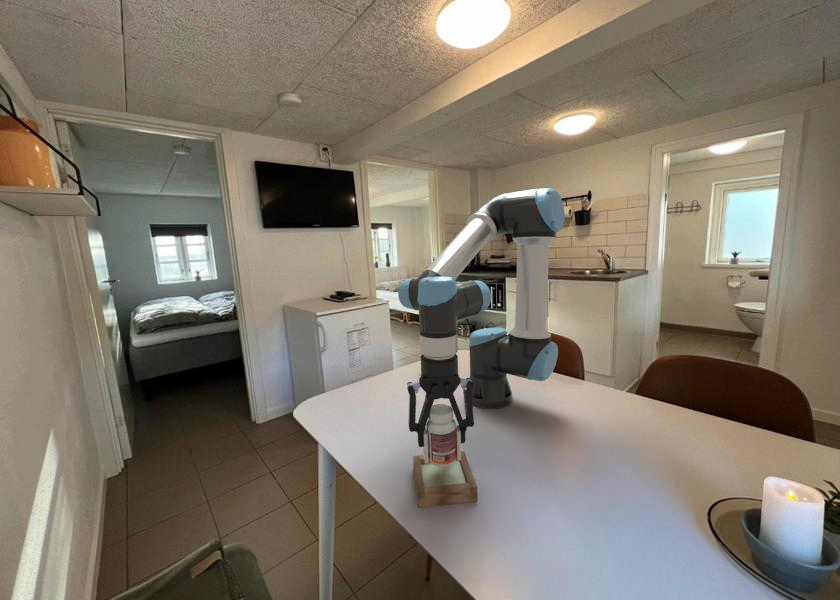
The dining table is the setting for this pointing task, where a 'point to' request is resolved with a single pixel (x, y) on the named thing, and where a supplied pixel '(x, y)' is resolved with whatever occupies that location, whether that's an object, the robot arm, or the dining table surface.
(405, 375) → the dining table surface
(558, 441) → the dining table surface
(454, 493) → the holder
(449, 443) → the pill bottle
